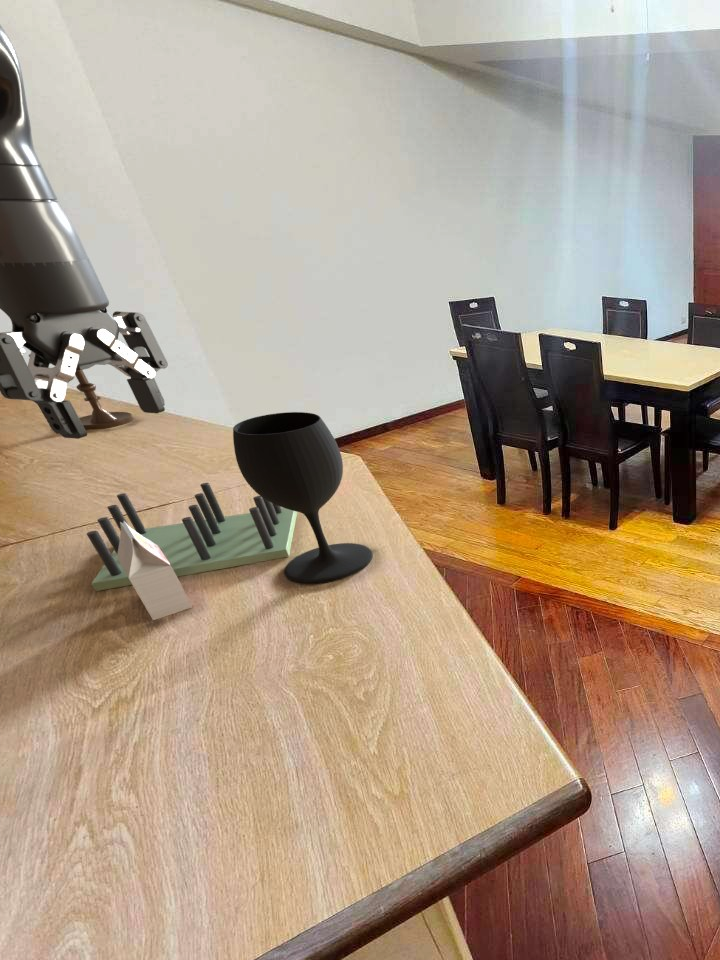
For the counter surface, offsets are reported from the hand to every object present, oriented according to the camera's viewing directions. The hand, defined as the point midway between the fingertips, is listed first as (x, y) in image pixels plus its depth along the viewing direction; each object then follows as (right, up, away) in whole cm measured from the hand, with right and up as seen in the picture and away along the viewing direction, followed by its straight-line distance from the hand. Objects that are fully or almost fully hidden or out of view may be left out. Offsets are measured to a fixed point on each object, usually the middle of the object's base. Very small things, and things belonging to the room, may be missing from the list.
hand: (117, 424), depth 63 cm
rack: (-8, -13, +20) cm, 25 cm away
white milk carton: (-3, -20, +9) cm, 22 cm away
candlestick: (-68, +14, +61) cm, 92 cm away
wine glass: (+11, -16, +18) cm, 26 cm away
